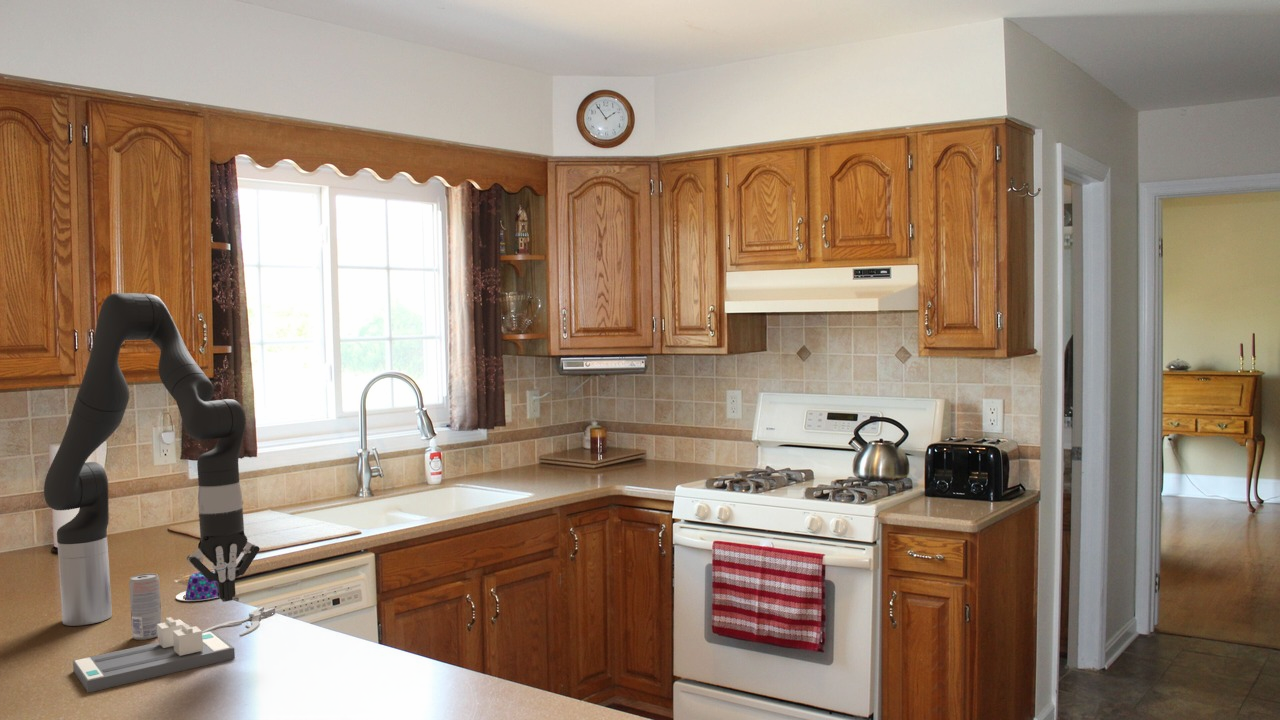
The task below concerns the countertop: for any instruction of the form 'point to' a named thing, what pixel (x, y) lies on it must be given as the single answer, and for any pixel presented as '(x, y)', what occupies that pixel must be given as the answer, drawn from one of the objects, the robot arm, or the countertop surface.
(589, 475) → the countertop surface
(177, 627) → the tab
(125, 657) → the switch panel
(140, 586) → the energy drink
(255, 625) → the pliers
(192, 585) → the pudding
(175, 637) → the tab
